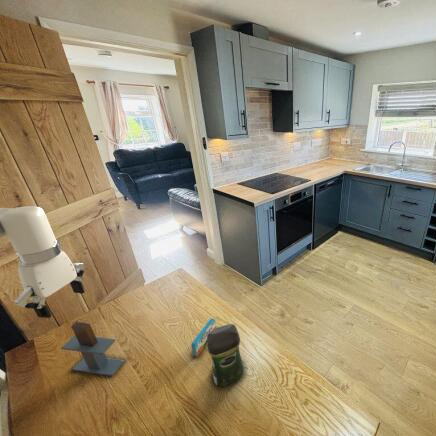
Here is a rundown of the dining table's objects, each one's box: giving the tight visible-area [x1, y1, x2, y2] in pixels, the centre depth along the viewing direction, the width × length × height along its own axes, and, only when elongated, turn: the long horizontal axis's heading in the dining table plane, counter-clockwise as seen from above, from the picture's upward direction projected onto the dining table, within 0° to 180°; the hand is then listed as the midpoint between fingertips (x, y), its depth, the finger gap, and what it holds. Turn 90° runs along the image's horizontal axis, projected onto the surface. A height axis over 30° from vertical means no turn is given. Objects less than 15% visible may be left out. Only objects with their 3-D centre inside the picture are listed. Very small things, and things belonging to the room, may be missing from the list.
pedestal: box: [60, 335, 125, 377], centre depth 76 cm, size 14×5×11 cm, turn 83°
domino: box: [70, 321, 98, 347], centre depth 72 cm, size 4×2×8 cm, turn 83°
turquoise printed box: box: [190, 317, 217, 357], centre depth 86 cm, size 12×2×6 cm, turn 164°
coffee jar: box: [206, 323, 245, 388], centre depth 73 cm, size 10×8×19 cm
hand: (63, 303), depth 69 cm, fingers open, 9 cm apart
